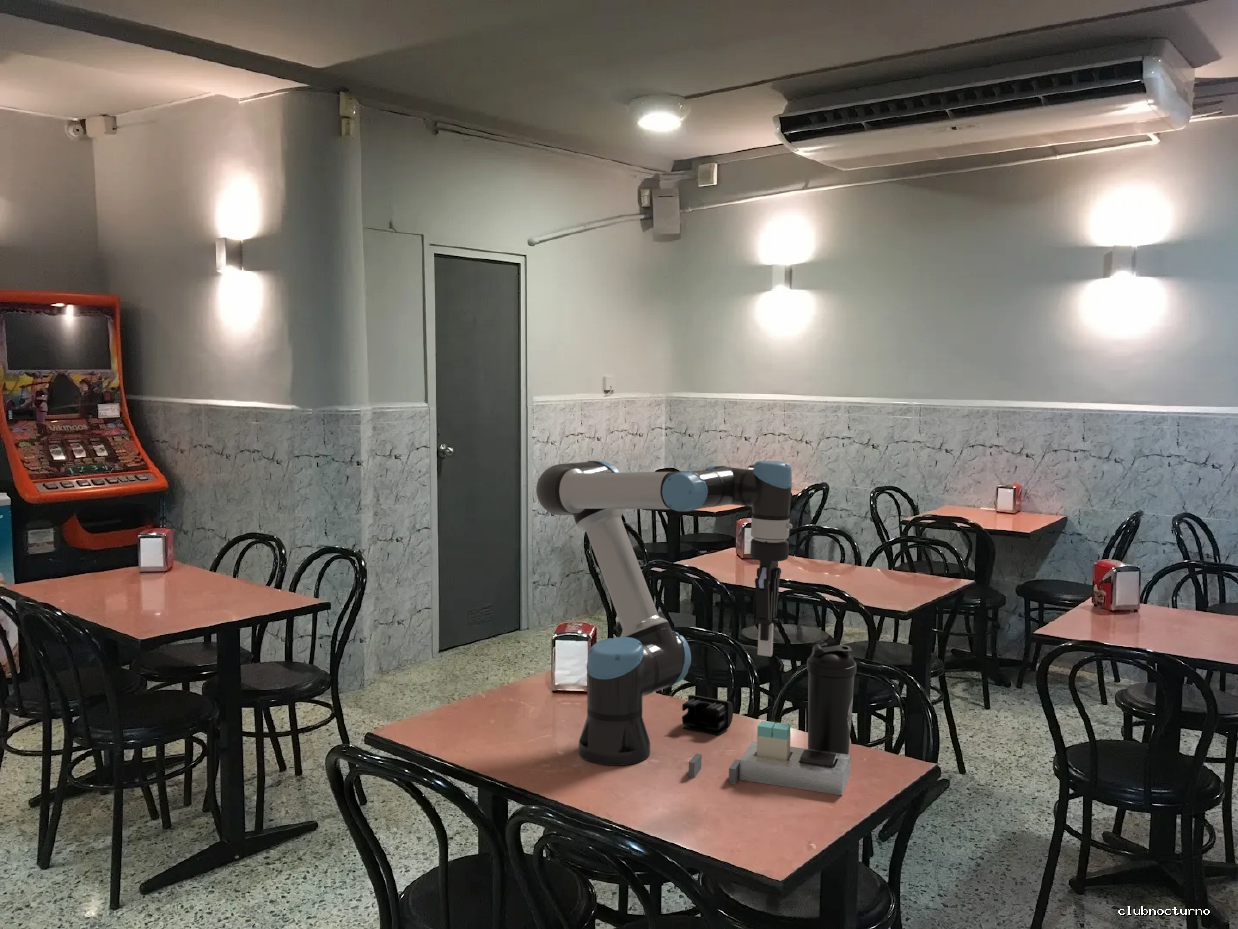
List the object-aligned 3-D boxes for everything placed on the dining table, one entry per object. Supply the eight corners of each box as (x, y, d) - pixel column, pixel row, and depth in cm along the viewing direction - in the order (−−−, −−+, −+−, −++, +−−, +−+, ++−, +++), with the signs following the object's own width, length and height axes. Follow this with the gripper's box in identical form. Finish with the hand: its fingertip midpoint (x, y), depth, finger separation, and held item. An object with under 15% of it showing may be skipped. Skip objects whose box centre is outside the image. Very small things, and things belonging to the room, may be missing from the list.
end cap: (733, 727, 224) (733, 698, 224) (720, 737, 218) (721, 707, 218) (693, 719, 229) (693, 691, 229) (680, 729, 223) (680, 699, 222)
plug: (756, 774, 197) (757, 726, 196) (760, 768, 200) (761, 720, 200) (786, 779, 195) (787, 730, 194) (789, 773, 198) (790, 724, 197)
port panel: (739, 779, 194) (739, 755, 194) (752, 760, 205) (752, 736, 204) (842, 795, 187) (842, 770, 187) (850, 774, 198) (850, 750, 197)
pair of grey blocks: (688, 776, 196) (688, 762, 195) (695, 767, 200) (695, 753, 200) (734, 784, 192) (735, 769, 192) (740, 774, 197) (741, 760, 197)
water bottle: (856, 763, 204) (861, 654, 201) (806, 761, 204) (810, 653, 202) (848, 744, 214) (853, 641, 211) (801, 742, 215) (804, 639, 212)
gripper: (781, 545, 189) (776, 666, 191) (795, 535, 201) (790, 649, 203) (743, 542, 191) (738, 660, 194) (759, 532, 203) (754, 644, 206)
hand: (764, 654), depth 198 cm, fingers closed
